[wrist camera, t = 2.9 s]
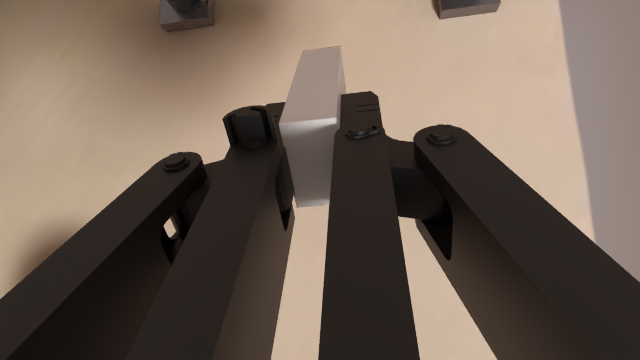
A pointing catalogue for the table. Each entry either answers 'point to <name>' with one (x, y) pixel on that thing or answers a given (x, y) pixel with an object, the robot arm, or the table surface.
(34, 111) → the table surface
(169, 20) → the gate frame
